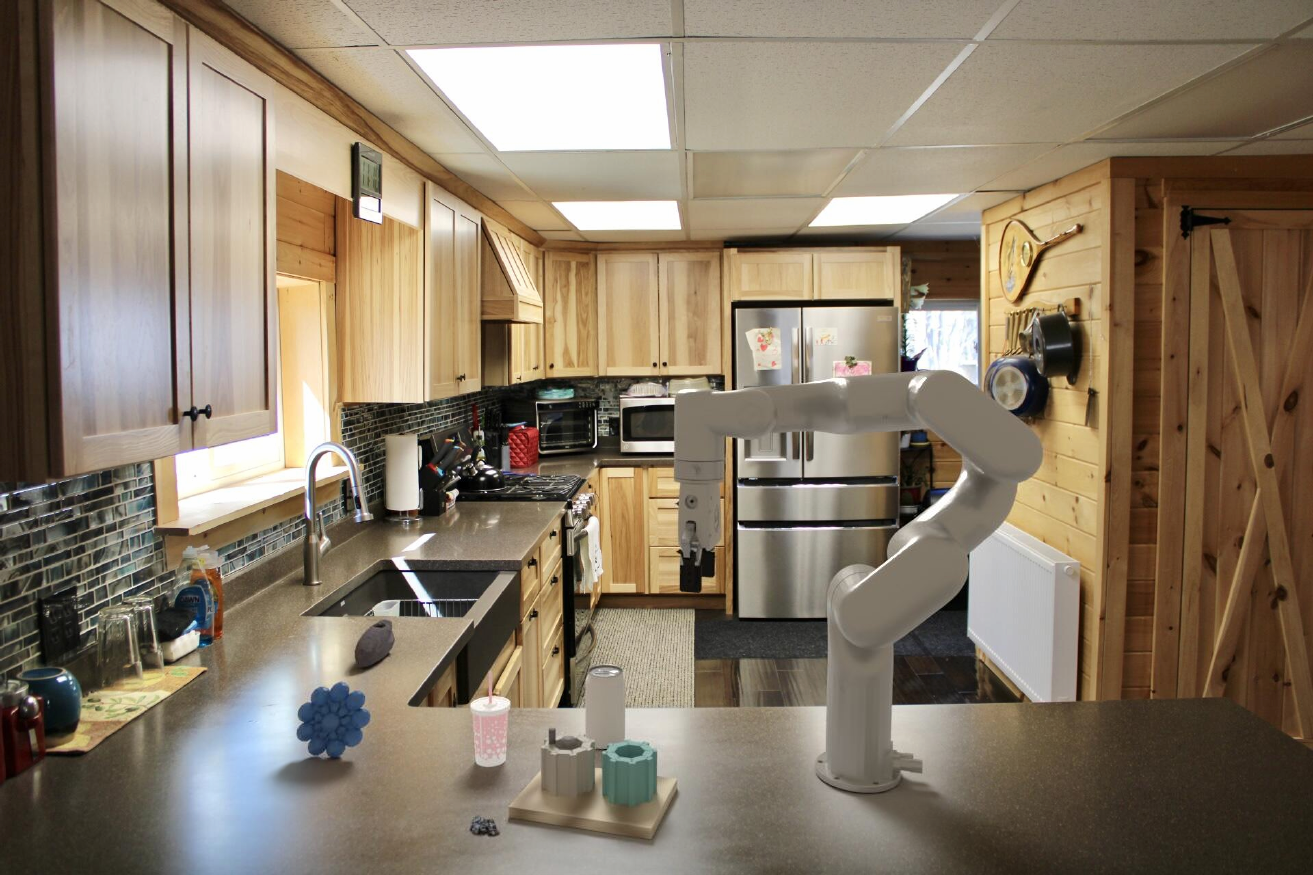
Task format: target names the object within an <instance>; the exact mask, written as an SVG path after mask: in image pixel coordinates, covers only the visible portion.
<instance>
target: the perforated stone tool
mask: <svg viewBox="0 0 1313 875" xmlns="http://www.w3.org/2000/svg"><path fill="white" fill-rule="evenodd" d="M395 638H396V637H395V634H394V633H393V622H392V621H391V620H389V619H381V620H379V621H378V622H376V623H374V624H373V625H371V626H369V628H367V629H366V631H365V632H364V633H363V634H362V635H361V636H360V638H359V639H358V640H357V643H356V646H355V649H354V660H355V663H356V665H357V666H358V667H359V668H362V669H363V668H368V667H370V666H372V665H374V664H376V663H378V662H380V660H382V659H383V658H385V657H386V656H387V655H388V654H389V652H390V651H391V650H392V649H393V647H394V645H395V641H396V640H395Z"/></svg>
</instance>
